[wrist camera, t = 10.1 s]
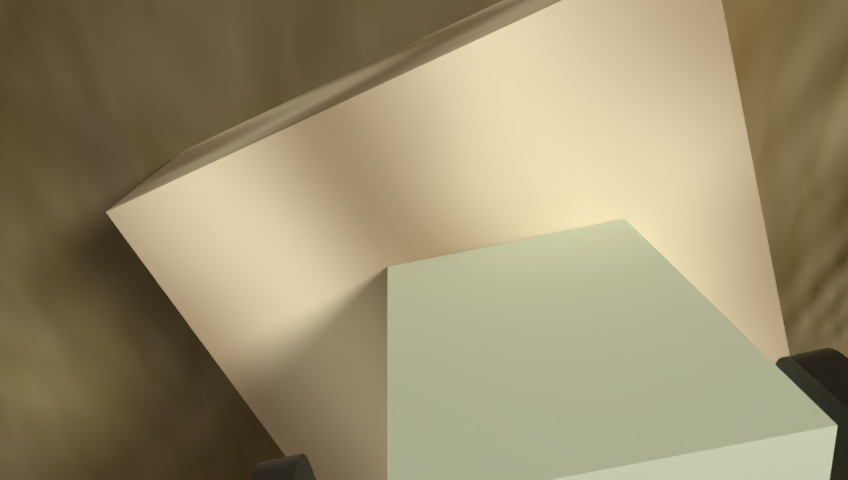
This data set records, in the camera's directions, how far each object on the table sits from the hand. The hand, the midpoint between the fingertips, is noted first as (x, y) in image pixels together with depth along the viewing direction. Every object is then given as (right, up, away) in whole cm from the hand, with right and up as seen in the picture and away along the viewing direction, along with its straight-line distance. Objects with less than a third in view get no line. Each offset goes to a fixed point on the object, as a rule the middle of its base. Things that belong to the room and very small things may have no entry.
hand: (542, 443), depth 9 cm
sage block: (0, +1, +3) cm, 3 cm away
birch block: (-1, +3, +8) cm, 8 cm away
